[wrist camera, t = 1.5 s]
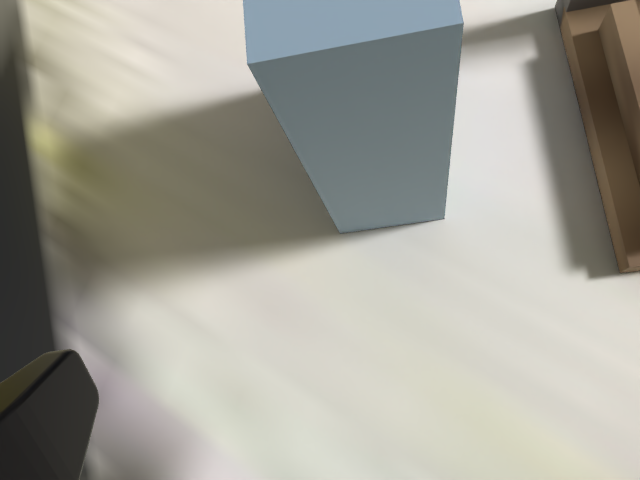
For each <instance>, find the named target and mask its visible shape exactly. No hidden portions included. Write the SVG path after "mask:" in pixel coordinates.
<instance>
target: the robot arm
mask: <svg viewBox="0 0 640 480" xmlns="http://www.w3.org/2000/svg"><path fill="white" fill-rule="evenodd" d="M98 404H99V394H98V390H97V387H96V385H95V383H94V381H93V379H92V378H91V376H90V374H89V372H88V370H87V368H86V366H85V364H84V362H83V360H82V359H81V357H80V355H79V354H78V353H77V352H76V351H74V350H71V349H67V350H59V351H51V352H47V353H44V354H43V355H41V356H40V357H38V358H37V359H35V360H34V361H32V362H31V363H29V364H28V365H26V366H25V367H23V368H22V369H21V370H19V371H18V372H16V373H15V374H13V375H12V376H10V377H9V378H7V379H6V380H4V381H3V382H1V383H0V480H80V476H81V472H82V468H83V464H84V460H85V456H86V452H87V448H88V444H89V440H90V437H91V433H92V429H93V425H94V421H95V417H96V413H97V409H98Z"/></svg>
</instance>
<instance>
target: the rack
mask: <svg viewBox="0 0 640 480" xmlns="http://www.w3.org/2000/svg"><path fill="white" fill-rule="evenodd" d="M555 9H556V13H557V17H558V21H559V26H560V30H561V34H562V38H563V42H564V46H565V50H566V54H567V58H568V62H569V67H570V71H571V75H572V79H573V83H574V87H575V91H576V95H577V99H578V103H579V108H580V112H581V116H582V120H583V124H584V128H585V132H586V136H587V140H588V144H589V148H590V153H591V157H592V161H593V165H594V169H595V173H596V177H597V181H598V185H599V189H600V194H601V198H602V202H603V206H604V210H605V214H606V218H607V222H608V226H609V230H610V235H611V239H612V243H613V247H614V251H615V255H616V259H617V263H618V267H619V271H620V273H625V272H634V271H640V0H557V2H556V5H555Z"/></svg>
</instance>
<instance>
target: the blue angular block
mask: <svg viewBox="0 0 640 480" xmlns="http://www.w3.org/2000/svg"><path fill="white" fill-rule="evenodd" d="M243 8H244V23H245V38H246V53H247V65H248V66H249V68H250V70H251V72H252V74H253V76H254V77H255V79H256V81H257V83H258V85H259V87H260V88H261V90H262V92H263V94H264V96H265V97H266V99H267V101H268V103H269V105H270V107H271V108H272V110H273V112H274V114H275V116H276V118H277V119H278V121H279V123H280V125H281V127H282V128H283V130H284V132H285V134H286V136H287V138H288V139H289V141H290V143H291V145H292V147H293V149H294V150H295V152H296V154H297V156H298V158H299V160H300V161H301V163H302V165H303V167H304V169H305V170H306V172H307V174H308V176H309V178H310V180H311V181H312V183H313V185H314V187H315V189H316V191H317V192H318V194H319V196H320V198H321V200H322V201H323V203H324V205H325V207H326V209H327V211H328V212H329V214H330V216H331V218H332V220H333V222H334V223H335V225H336V227H337V229H338V231H339V232H340V233H348V232H355V231H362V230H369V229H376V228H383V227H390V226H397V225H404V224H411V223H418V222H425V221H433V220H440V219H444V216H445V206H446V196H447V186H448V175H449V165H450V155H451V145H452V135H453V125H454V115H455V105H456V95H457V84H458V74H459V64H460V54H461V44H462V34H463V24H464V22H463V17H462V12H461V7H460V1H459V0H243Z"/></svg>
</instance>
